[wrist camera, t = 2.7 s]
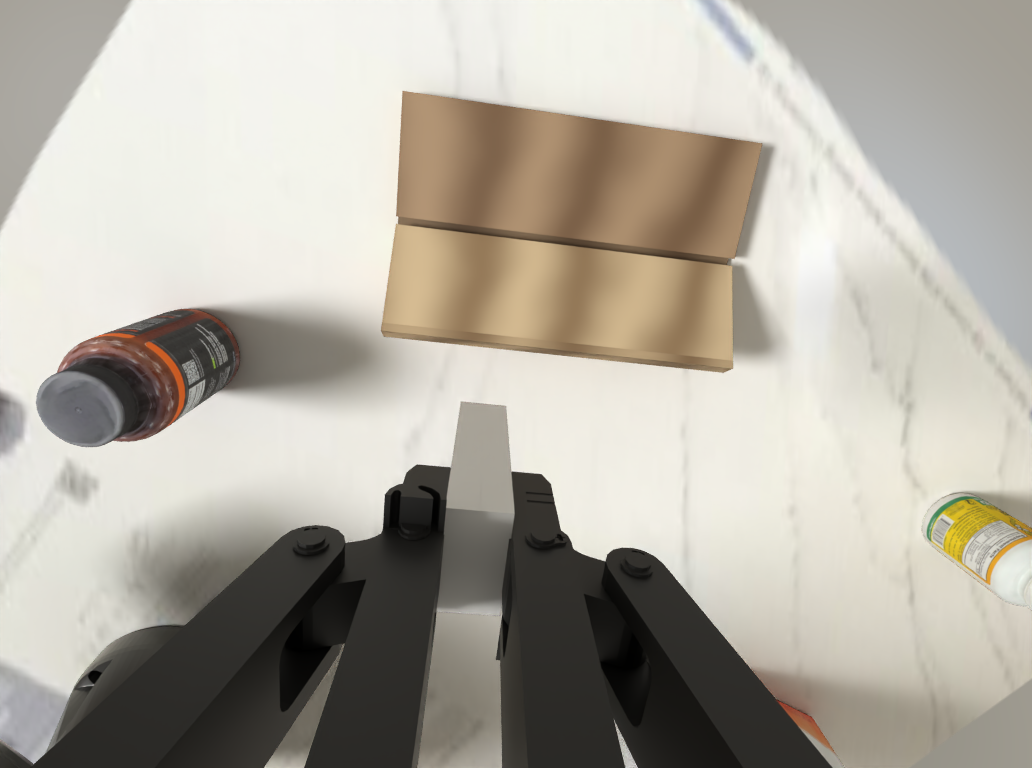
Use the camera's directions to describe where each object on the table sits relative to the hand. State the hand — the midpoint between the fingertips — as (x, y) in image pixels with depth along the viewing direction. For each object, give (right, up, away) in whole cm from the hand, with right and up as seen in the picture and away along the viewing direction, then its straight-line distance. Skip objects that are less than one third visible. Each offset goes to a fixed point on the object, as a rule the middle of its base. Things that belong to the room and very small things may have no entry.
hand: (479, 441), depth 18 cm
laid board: (+5, +15, +16) cm, 22 cm away
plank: (+4, +7, +17) cm, 19 cm away
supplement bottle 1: (-20, +4, +19) cm, 28 cm away
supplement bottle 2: (+37, -9, +26) cm, 46 cm away
